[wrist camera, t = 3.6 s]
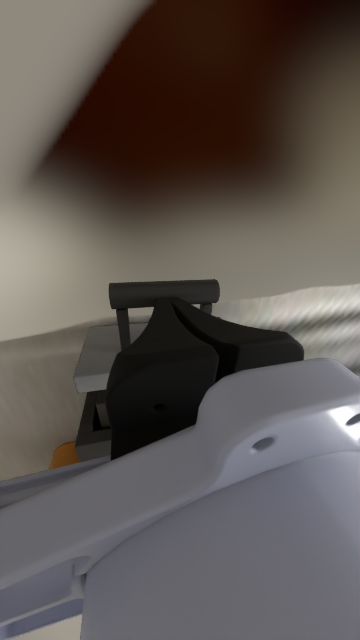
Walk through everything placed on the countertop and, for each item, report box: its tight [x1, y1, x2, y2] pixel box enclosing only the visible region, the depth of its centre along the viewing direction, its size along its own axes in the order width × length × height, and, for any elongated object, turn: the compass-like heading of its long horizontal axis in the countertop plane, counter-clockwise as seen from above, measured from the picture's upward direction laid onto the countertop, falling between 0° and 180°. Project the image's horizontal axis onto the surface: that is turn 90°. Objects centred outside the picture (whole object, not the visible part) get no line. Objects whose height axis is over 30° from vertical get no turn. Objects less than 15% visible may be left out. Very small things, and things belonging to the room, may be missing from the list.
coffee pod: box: [49, 442, 80, 470], centre depth 21 cm, size 5×5×3 cm
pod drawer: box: [73, 279, 221, 430], centre depth 15 cm, size 17×10×5 cm, turn 178°
